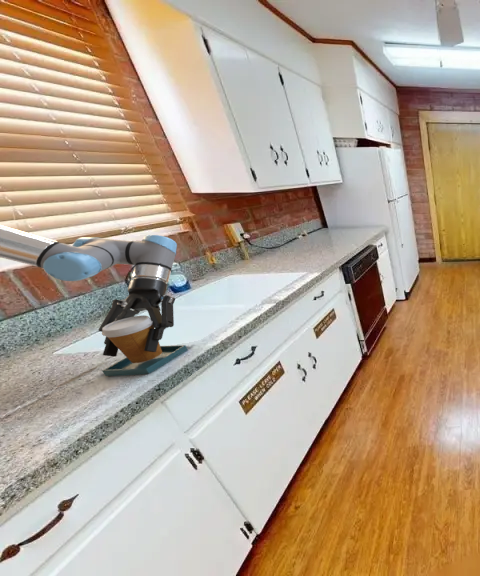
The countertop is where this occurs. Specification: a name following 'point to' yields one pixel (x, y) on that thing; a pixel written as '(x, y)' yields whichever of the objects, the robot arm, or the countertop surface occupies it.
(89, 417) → the countertop surface
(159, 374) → the countertop surface
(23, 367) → the countertop surface
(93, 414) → the countertop surface
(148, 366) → the cup tray
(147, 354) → the disposable coffee cup
